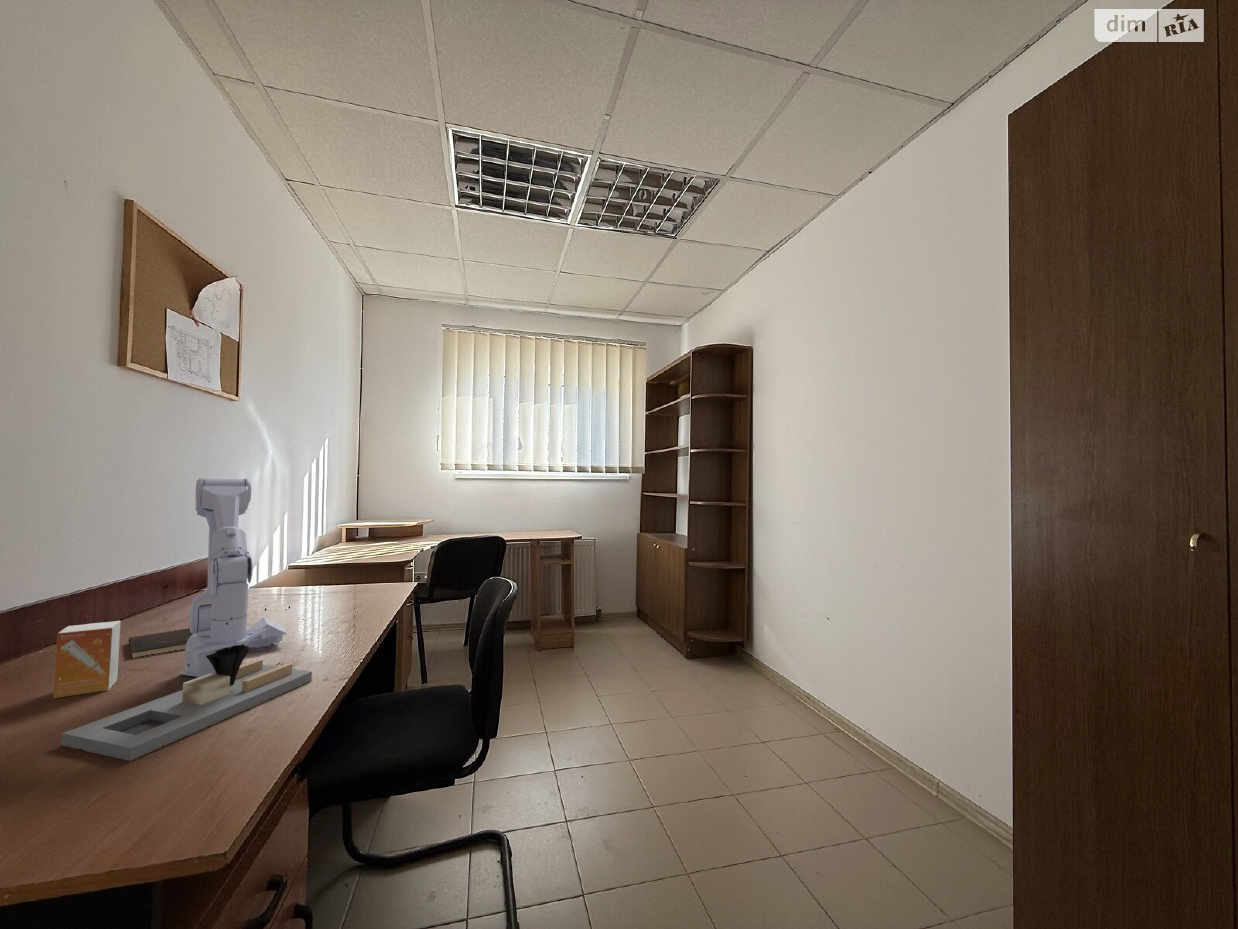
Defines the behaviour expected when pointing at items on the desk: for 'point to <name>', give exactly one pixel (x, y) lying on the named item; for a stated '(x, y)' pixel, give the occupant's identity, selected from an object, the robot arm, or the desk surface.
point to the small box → (86, 658)
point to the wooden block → (206, 689)
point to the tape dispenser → (267, 633)
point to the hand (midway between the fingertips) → (226, 685)
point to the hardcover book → (159, 642)
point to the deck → (181, 714)
